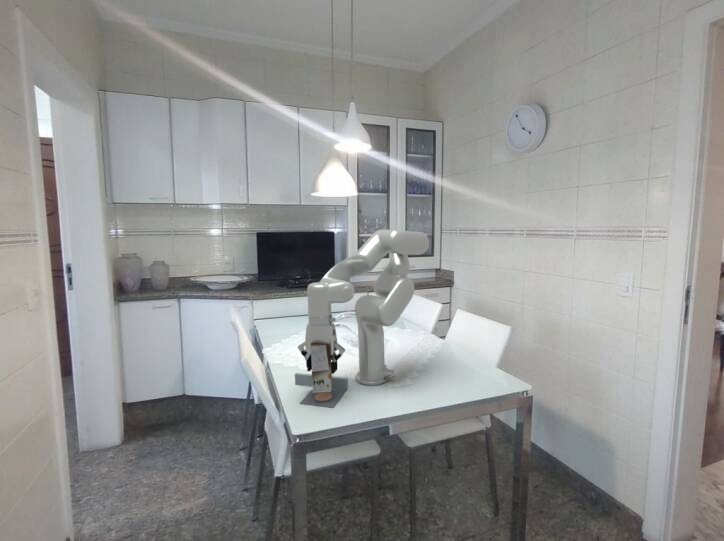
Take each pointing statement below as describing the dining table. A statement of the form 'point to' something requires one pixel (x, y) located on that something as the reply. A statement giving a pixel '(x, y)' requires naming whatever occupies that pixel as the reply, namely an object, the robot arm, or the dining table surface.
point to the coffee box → (321, 367)
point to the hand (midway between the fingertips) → (322, 370)
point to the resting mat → (323, 398)
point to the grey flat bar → (307, 381)
